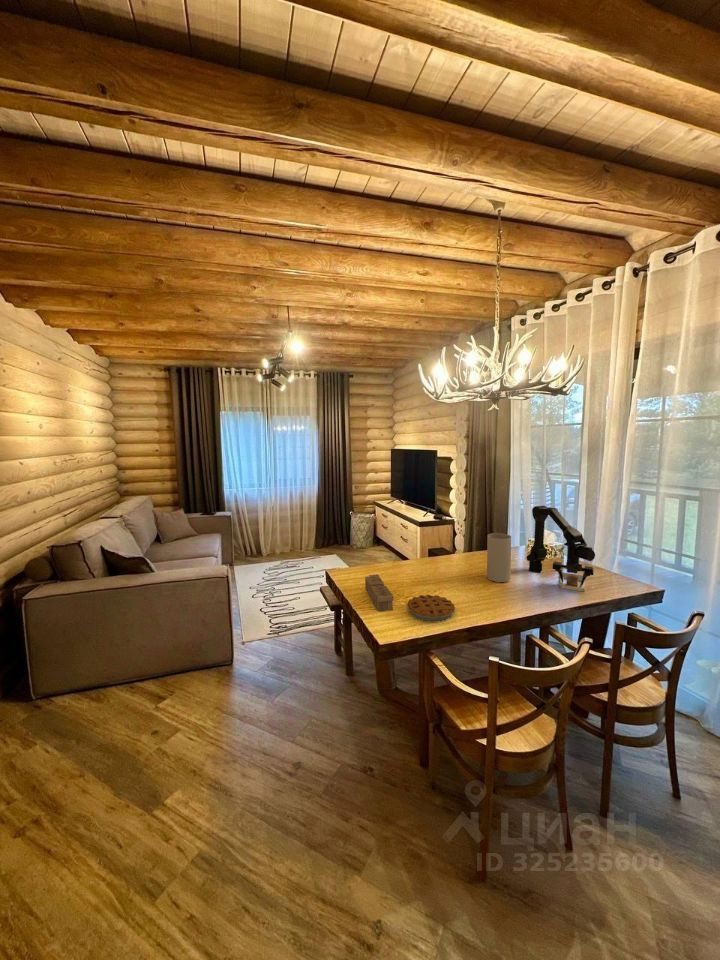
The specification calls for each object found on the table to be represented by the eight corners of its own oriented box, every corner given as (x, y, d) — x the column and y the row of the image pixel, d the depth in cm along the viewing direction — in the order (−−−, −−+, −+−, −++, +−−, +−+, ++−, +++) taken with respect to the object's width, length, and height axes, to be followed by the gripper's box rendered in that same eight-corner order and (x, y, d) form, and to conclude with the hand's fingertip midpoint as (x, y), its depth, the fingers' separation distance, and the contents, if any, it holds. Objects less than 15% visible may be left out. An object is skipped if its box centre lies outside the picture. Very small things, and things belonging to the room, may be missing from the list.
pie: (463, 620, 163) (463, 610, 163) (417, 627, 159) (417, 616, 158) (442, 600, 185) (442, 590, 184) (401, 605, 180) (400, 595, 180)
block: (566, 587, 196) (566, 576, 196) (566, 584, 201) (567, 573, 200) (577, 589, 194) (577, 578, 193) (577, 585, 198) (578, 575, 197)
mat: (558, 578, 209) (558, 577, 209) (560, 572, 217) (560, 572, 217) (583, 582, 202) (583, 581, 202) (583, 576, 211) (583, 575, 211)
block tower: (364, 590, 200) (377, 613, 172) (364, 575, 200) (377, 596, 171) (378, 589, 202) (393, 611, 173) (378, 574, 201) (393, 594, 173)
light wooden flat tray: (559, 587, 197) (559, 584, 196) (561, 579, 207) (561, 576, 207) (584, 591, 190) (584, 588, 190) (584, 583, 201) (584, 580, 201)
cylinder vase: (504, 574, 216) (505, 532, 213) (514, 582, 204) (515, 538, 201) (483, 575, 216) (484, 533, 213) (491, 583, 203) (492, 539, 201)
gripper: (551, 556, 194) (550, 585, 195) (594, 562, 184) (592, 592, 185) (554, 551, 203) (553, 578, 205) (594, 556, 193) (592, 585, 195)
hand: (572, 583), depth 197 cm, fingers open, 9 cm apart
